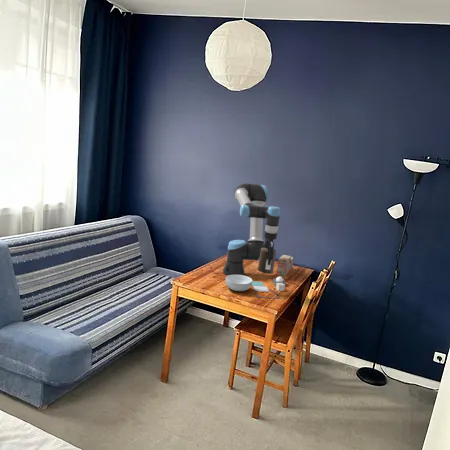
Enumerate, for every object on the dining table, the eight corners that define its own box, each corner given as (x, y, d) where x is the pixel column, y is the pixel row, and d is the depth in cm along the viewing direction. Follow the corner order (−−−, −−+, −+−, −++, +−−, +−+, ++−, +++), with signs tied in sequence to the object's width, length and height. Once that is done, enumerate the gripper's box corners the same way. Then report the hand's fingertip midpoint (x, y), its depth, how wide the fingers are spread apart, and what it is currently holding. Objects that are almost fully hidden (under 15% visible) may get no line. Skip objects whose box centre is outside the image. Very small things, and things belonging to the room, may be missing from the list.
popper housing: (275, 285, 274) (275, 282, 274) (272, 281, 281) (273, 278, 280) (285, 286, 275) (285, 282, 274) (283, 282, 282) (283, 279, 281)
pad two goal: (250, 285, 268) (250, 285, 268) (248, 281, 277) (248, 280, 277) (264, 286, 269) (264, 286, 269) (261, 282, 278) (262, 281, 278)
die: (278, 291, 264) (279, 285, 264) (275, 288, 268) (276, 282, 267) (284, 290, 266) (284, 284, 265) (281, 288, 269) (282, 282, 269)
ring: (257, 297, 249) (257, 296, 249) (254, 289, 261) (254, 289, 261) (278, 298, 250) (278, 298, 250) (274, 291, 263) (274, 290, 263)
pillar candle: (260, 273, 253) (264, 249, 250) (255, 268, 262) (258, 245, 259) (275, 273, 256) (279, 250, 253) (269, 268, 265) (273, 246, 262)
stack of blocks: (284, 267, 319) (286, 252, 316) (292, 269, 317) (294, 253, 314) (276, 274, 299) (278, 257, 297) (284, 276, 297) (287, 259, 295)
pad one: (255, 290, 260) (255, 290, 260) (253, 286, 268) (253, 285, 268) (269, 291, 261) (269, 291, 261) (266, 287, 269) (266, 286, 269)
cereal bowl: (223, 283, 266) (224, 273, 265) (249, 285, 268) (250, 275, 266) (225, 293, 250) (226, 282, 248) (252, 295, 251) (254, 284, 250)
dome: (276, 284, 275) (277, 277, 274) (274, 281, 280) (275, 275, 279) (283, 284, 276) (284, 278, 275) (282, 282, 280) (282, 275, 280)
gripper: (281, 237, 243) (275, 273, 248) (273, 228, 265) (268, 261, 270) (268, 236, 242) (263, 272, 247) (261, 227, 264) (257, 260, 269)
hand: (266, 266), depth 258 cm, fingers closed on pillar candle, 10 cm apart
